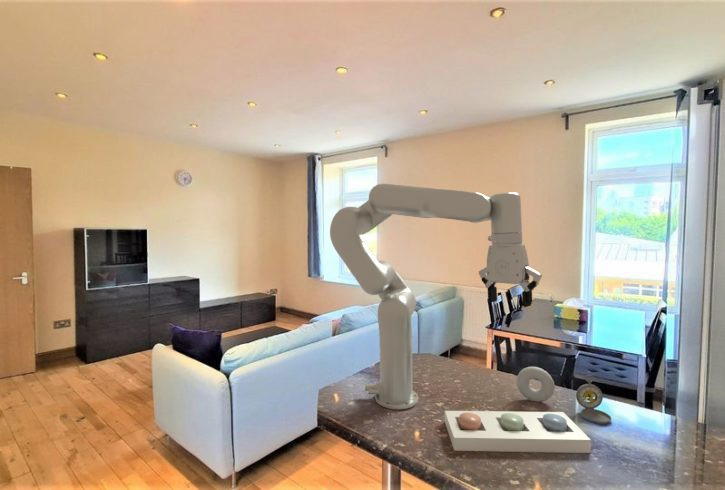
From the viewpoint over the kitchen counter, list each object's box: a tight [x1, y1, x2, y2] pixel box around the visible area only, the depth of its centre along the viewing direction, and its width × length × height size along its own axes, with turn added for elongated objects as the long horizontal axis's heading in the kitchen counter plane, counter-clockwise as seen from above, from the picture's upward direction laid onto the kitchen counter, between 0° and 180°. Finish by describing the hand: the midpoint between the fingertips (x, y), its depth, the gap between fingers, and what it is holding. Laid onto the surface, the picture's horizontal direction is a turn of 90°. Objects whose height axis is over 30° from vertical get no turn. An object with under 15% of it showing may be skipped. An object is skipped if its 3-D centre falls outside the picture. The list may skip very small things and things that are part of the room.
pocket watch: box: [575, 374, 612, 425], centre depth 95 cm, size 8×8×10 cm
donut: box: [516, 366, 556, 403], centre depth 103 cm, size 10×4×10 cm, turn 64°
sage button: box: [501, 413, 523, 431], centre depth 86 cm, size 5×5×2 cm
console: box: [444, 410, 592, 454], centre depth 86 cm, size 30×12×3 cm, turn 87°
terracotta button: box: [459, 413, 481, 431], centre depth 87 cm, size 5×5×2 cm
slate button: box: [543, 414, 567, 432], centre depth 86 cm, size 5×5×2 cm
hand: (509, 303), depth 96 cm, fingers open, 9 cm apart
